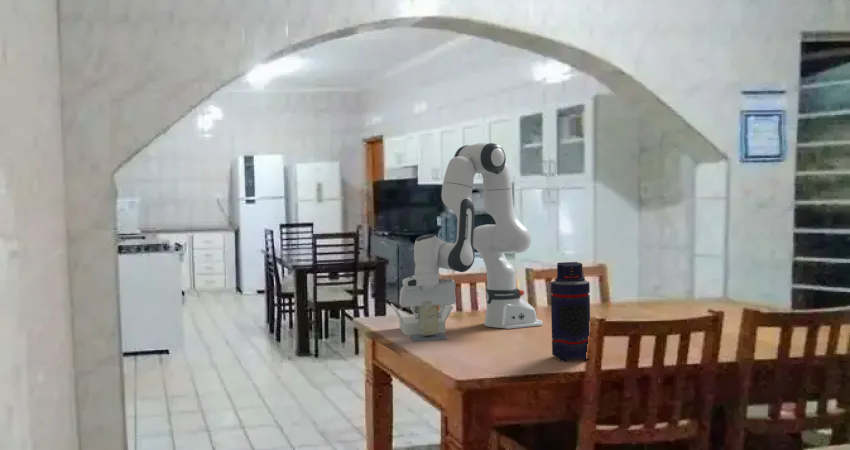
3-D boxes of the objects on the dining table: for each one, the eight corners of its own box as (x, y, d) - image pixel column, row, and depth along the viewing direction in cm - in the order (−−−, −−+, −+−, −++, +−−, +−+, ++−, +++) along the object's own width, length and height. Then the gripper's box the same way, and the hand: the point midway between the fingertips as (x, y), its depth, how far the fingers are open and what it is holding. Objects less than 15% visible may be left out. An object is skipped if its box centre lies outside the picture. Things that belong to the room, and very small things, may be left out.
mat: (442, 334, 296) (442, 332, 296) (447, 339, 286) (447, 338, 286) (410, 336, 294) (410, 334, 294) (414, 341, 284) (414, 340, 284)
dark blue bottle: (595, 361, 246) (593, 264, 244) (557, 363, 245) (555, 265, 243) (583, 351, 260) (581, 259, 258) (546, 353, 259) (545, 261, 257)
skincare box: (426, 335, 286) (425, 302, 285) (418, 334, 289) (416, 300, 288) (439, 333, 290) (438, 299, 289) (430, 331, 293) (429, 298, 293)
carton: (446, 325, 314) (445, 300, 313) (453, 332, 299) (453, 306, 298) (391, 328, 310) (390, 303, 310) (396, 335, 295) (395, 309, 295)
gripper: (453, 277, 293) (454, 314, 294) (398, 280, 290) (399, 318, 291) (457, 279, 287) (458, 317, 288) (400, 282, 284) (401, 321, 285)
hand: (428, 318), depth 289 cm, fingers closed on skincare box, 7 cm apart
